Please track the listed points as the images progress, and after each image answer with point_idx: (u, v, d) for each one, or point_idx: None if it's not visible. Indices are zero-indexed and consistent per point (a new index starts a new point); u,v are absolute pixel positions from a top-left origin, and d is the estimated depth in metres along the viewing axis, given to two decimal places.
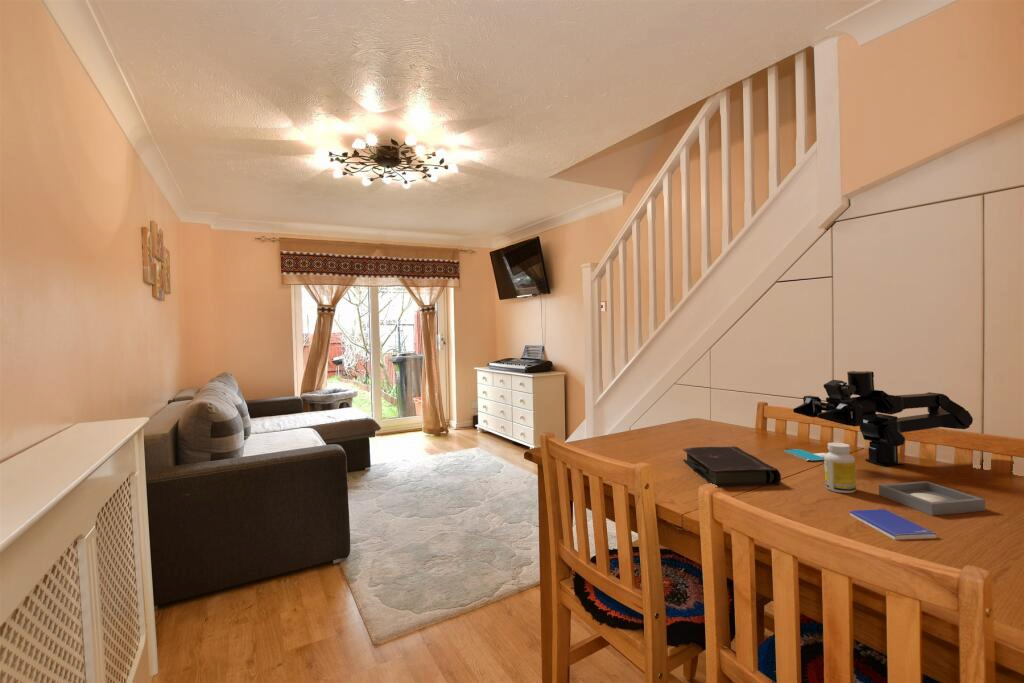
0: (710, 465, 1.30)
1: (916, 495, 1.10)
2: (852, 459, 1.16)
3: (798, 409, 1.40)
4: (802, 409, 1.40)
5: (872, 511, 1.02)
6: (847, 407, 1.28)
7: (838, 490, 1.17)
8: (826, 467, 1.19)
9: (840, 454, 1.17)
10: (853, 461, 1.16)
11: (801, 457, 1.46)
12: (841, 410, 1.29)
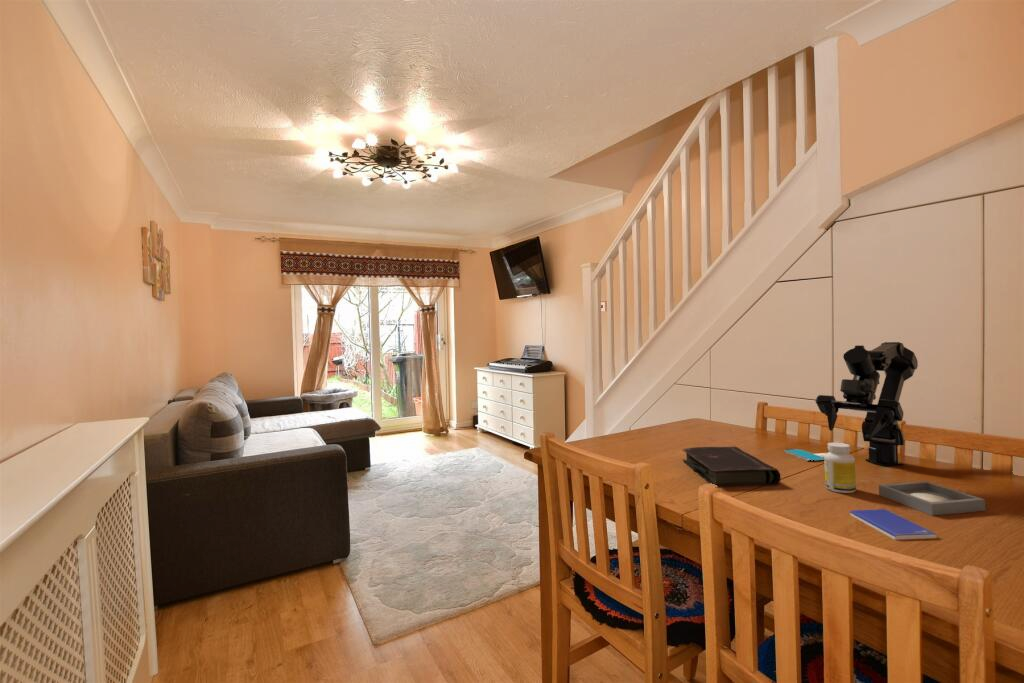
0: (710, 465, 1.30)
1: (916, 495, 1.10)
2: (852, 459, 1.16)
3: (832, 425, 1.27)
4: (832, 421, 1.28)
5: (872, 511, 1.02)
6: (890, 411, 1.19)
7: (838, 490, 1.17)
8: (826, 467, 1.19)
9: (840, 454, 1.17)
10: (853, 461, 1.16)
11: (801, 457, 1.46)
12: (883, 415, 1.20)
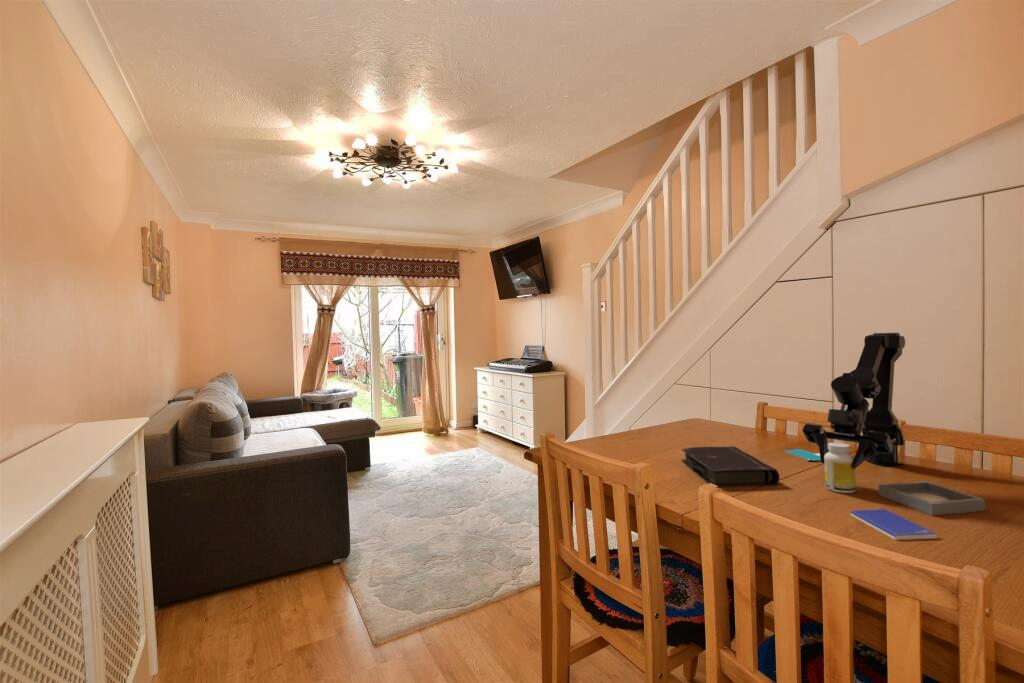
0: (709, 465, 1.30)
1: (916, 495, 1.10)
2: (852, 459, 1.16)
3: None
4: (825, 452, 1.22)
5: (873, 511, 1.02)
6: (873, 443, 1.14)
7: (838, 490, 1.17)
8: (826, 467, 1.19)
9: (840, 453, 1.17)
10: None
11: (802, 457, 1.46)
12: None
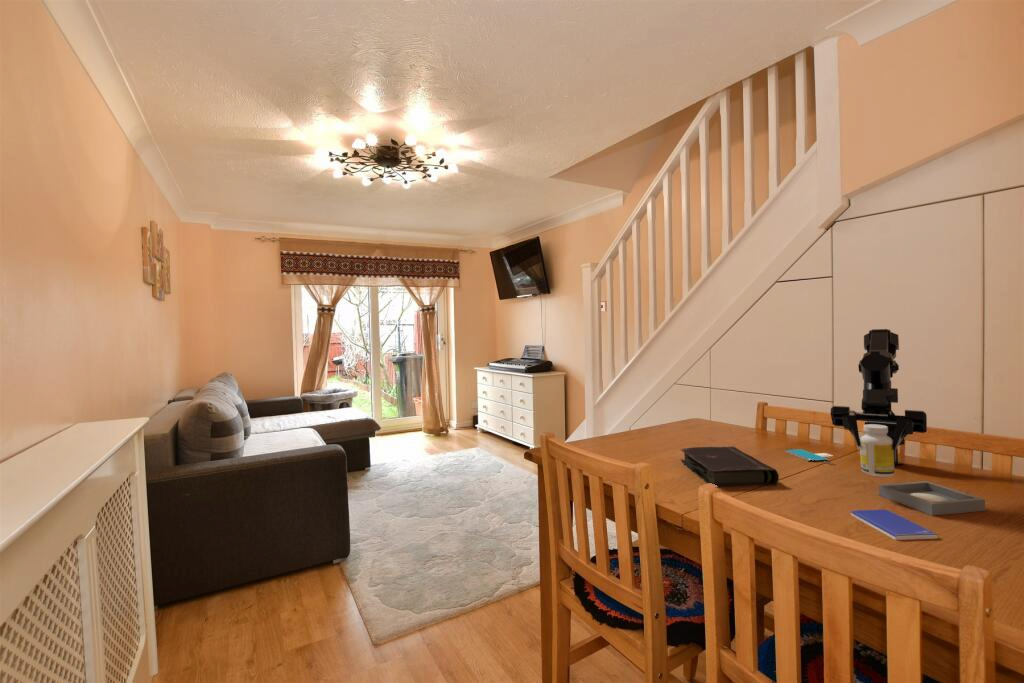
0: (708, 465, 1.30)
1: (916, 495, 1.10)
2: (892, 440, 1.11)
3: (859, 440, 1.15)
4: (858, 435, 1.16)
5: (873, 511, 1.02)
6: (912, 423, 1.10)
7: (879, 474, 1.11)
8: (864, 450, 1.13)
9: (880, 435, 1.11)
10: (892, 442, 1.11)
11: (802, 457, 1.46)
12: None
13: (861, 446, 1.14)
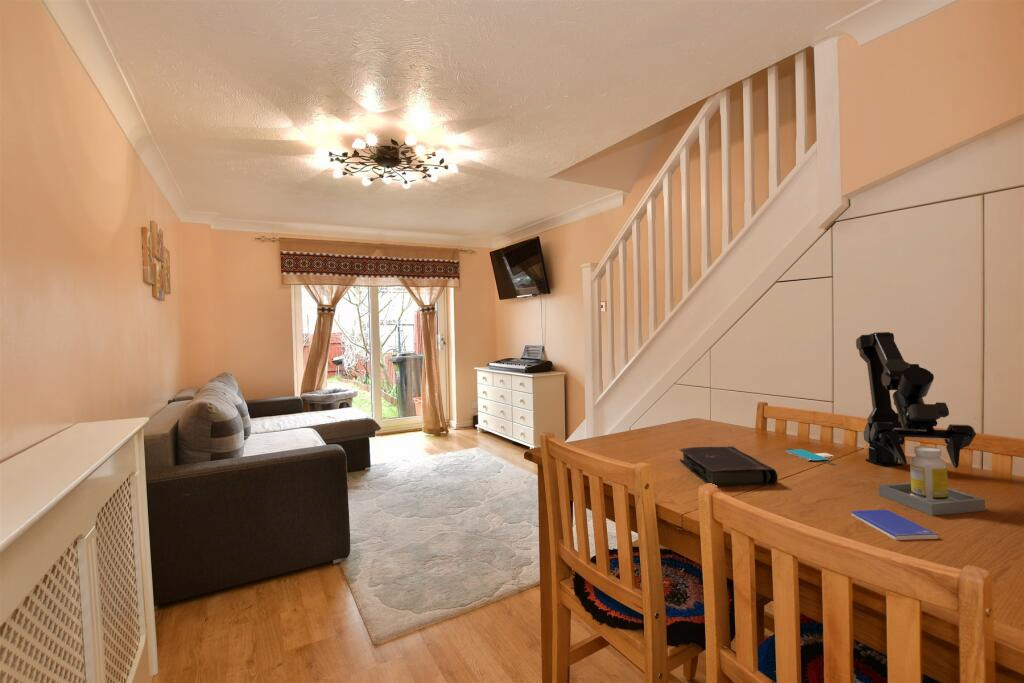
0: (707, 465, 1.30)
1: None
2: None
3: None
4: None
5: (874, 511, 1.02)
6: (968, 438, 1.06)
7: (938, 499, 1.05)
8: (920, 475, 1.07)
9: (936, 458, 1.06)
10: None
11: (803, 457, 1.46)
12: None
13: (915, 470, 1.08)
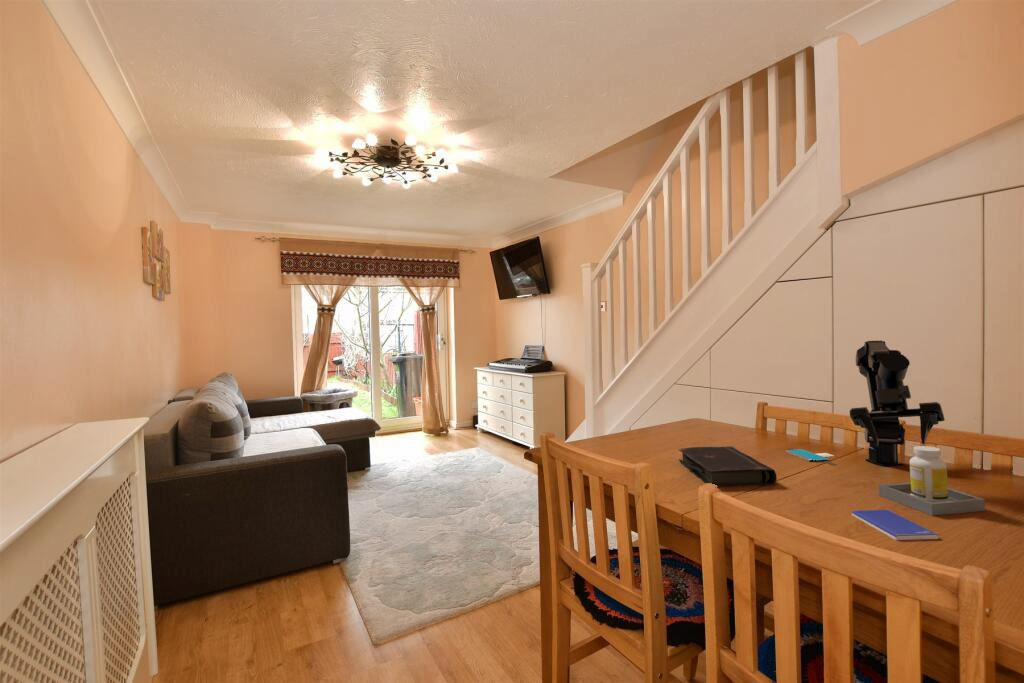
0: (706, 465, 1.30)
1: None
2: (945, 463, 1.06)
3: (877, 439, 1.22)
4: (875, 434, 1.23)
5: (874, 511, 1.02)
6: (934, 415, 1.15)
7: (937, 499, 1.05)
8: (920, 475, 1.07)
9: (935, 458, 1.06)
10: None
11: (803, 457, 1.46)
12: None
13: (914, 470, 1.08)
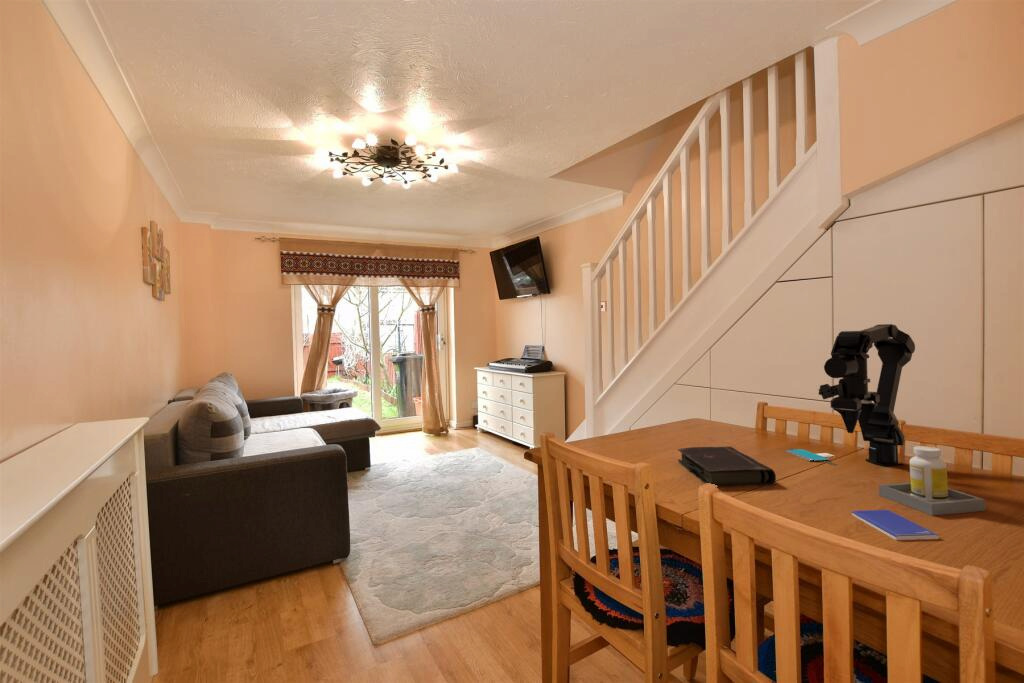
0: (705, 465, 1.30)
1: None
2: (945, 463, 1.06)
3: (861, 422, 1.34)
4: (861, 417, 1.34)
5: (875, 511, 1.02)
6: (835, 410, 1.28)
7: (937, 499, 1.05)
8: (919, 475, 1.07)
9: (935, 458, 1.06)
10: None
11: (804, 457, 1.46)
12: (841, 412, 1.28)
13: (914, 470, 1.08)
